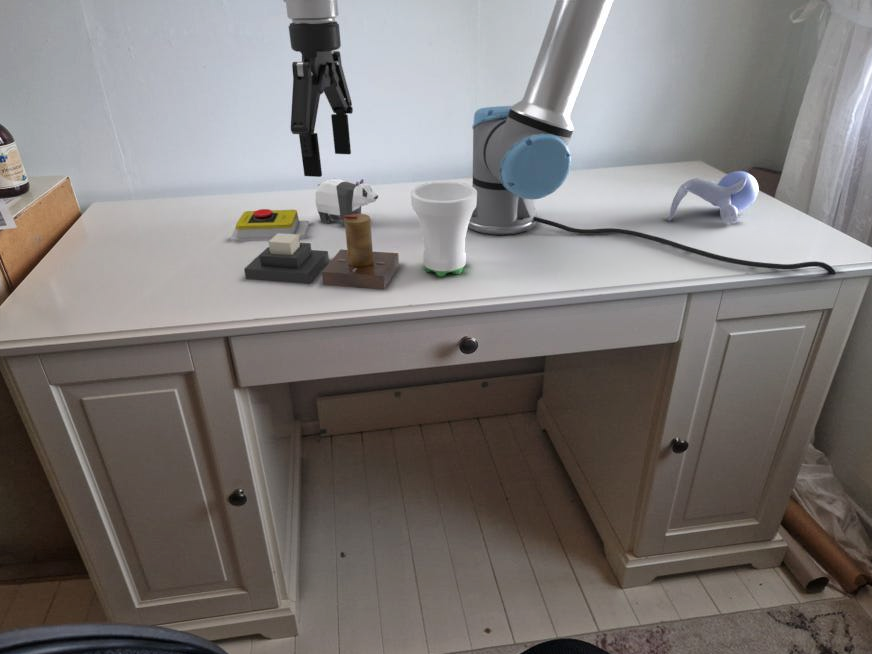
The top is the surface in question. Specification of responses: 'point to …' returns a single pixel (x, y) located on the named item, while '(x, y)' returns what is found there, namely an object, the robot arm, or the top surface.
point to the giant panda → (342, 199)
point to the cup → (444, 223)
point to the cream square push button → (284, 244)
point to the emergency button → (268, 225)
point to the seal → (721, 193)
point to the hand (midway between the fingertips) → (328, 164)
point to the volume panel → (361, 271)
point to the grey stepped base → (288, 265)
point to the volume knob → (359, 240)
